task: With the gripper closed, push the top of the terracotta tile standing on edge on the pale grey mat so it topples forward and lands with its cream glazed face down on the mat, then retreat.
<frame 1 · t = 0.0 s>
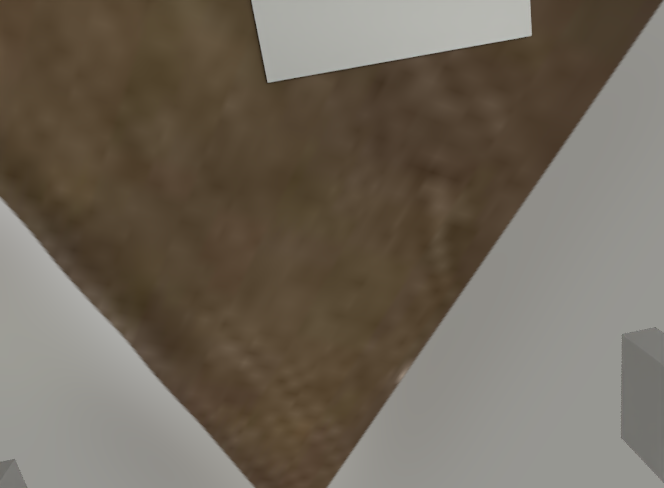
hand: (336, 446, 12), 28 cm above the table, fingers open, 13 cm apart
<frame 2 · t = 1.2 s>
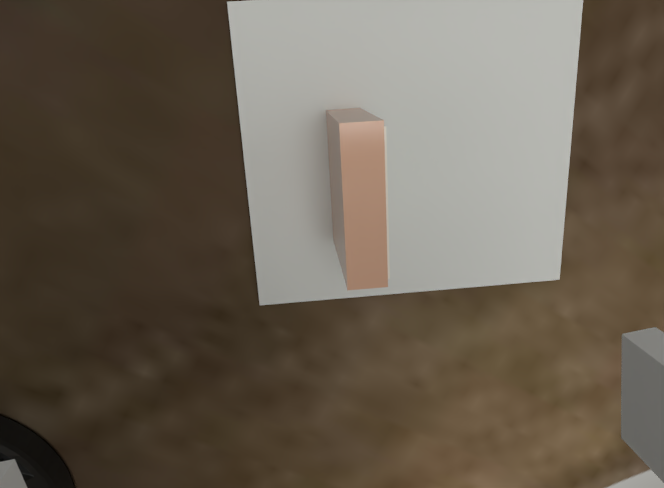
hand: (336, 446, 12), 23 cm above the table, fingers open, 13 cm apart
tile: (346, 176, 33), point 1 cm above the table, touching mat
mat: (408, 154, 33), on the table
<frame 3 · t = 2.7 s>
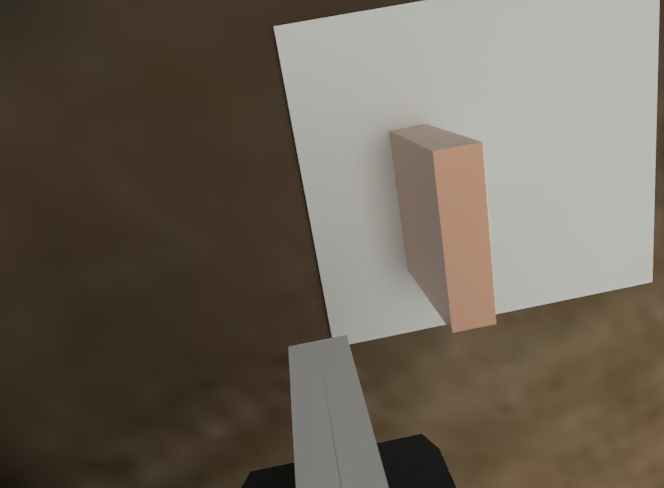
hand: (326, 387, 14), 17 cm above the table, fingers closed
tile: (416, 199, 30), point 1 cm above the table, touching mat
mat: (480, 166, 30), on the table
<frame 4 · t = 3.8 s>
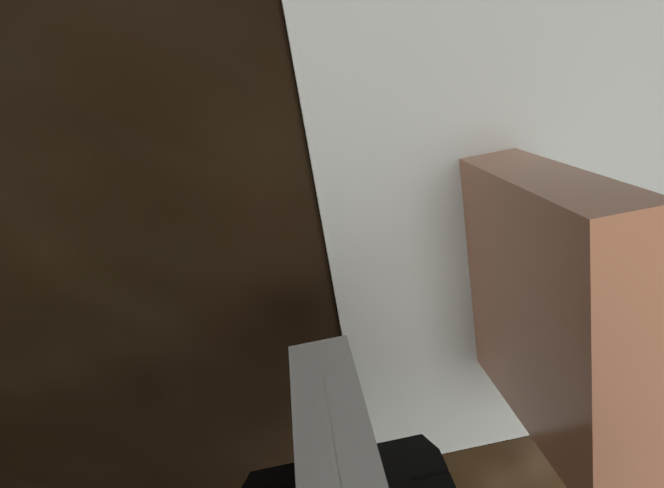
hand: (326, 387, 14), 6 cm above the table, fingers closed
tile: (495, 261, 20), point 1 cm above the table, touching mat
mat: (590, 210, 20), on the table
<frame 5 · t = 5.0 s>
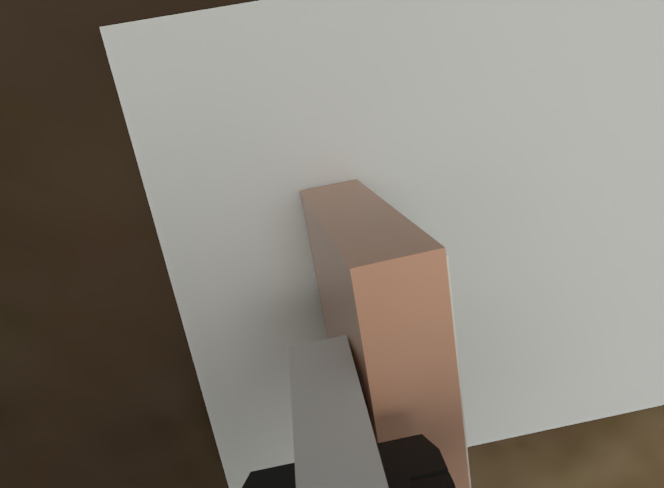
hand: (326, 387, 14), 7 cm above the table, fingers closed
tile: (346, 291, 20), point 1 cm above the table, touching gripper, mat
mat: (444, 239, 20), on the table
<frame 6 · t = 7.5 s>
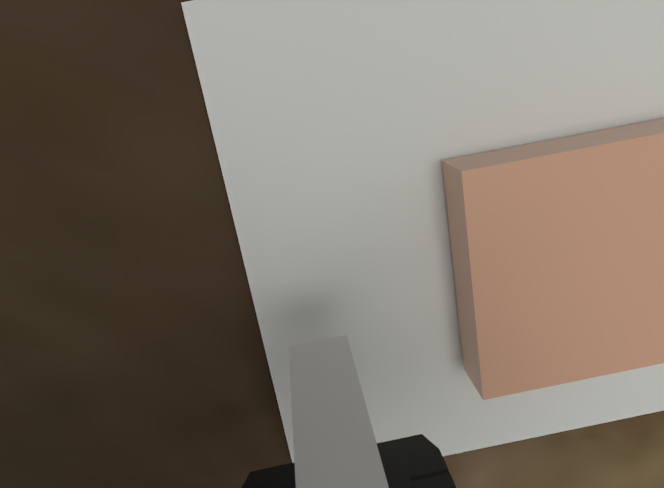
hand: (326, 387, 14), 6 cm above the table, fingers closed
tile: (462, 282, 18), point 2 cm above the table, tilted 90°, touching mat
mat: (521, 222, 19), on the table
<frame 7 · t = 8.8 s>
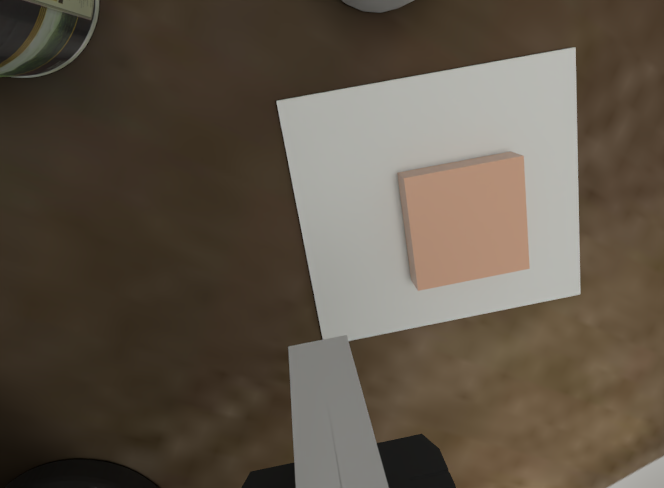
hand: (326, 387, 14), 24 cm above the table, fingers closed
tile: (407, 232, 37), point 2 cm above the table, tilted 90°, touching mat
mat: (439, 204, 38), on the table
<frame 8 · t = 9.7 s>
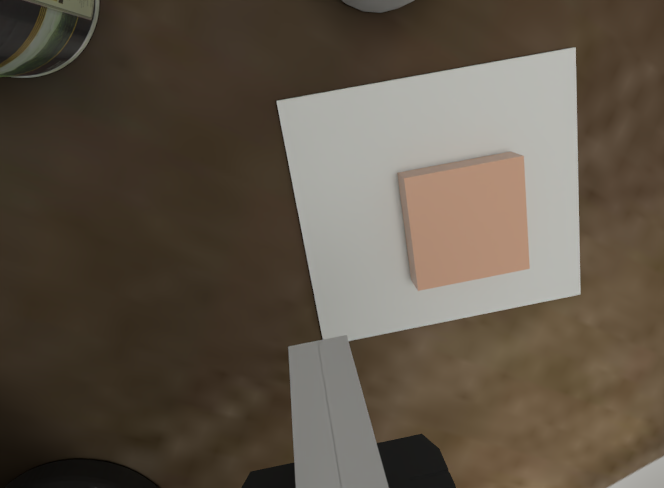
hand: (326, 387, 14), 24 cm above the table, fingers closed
tile: (407, 232, 37), point 2 cm above the table, tilted 90°, touching mat
mat: (439, 204, 38), on the table
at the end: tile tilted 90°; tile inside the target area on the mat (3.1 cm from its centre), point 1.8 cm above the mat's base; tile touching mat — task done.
